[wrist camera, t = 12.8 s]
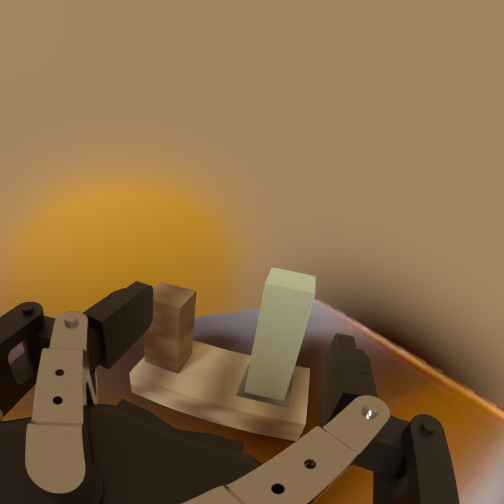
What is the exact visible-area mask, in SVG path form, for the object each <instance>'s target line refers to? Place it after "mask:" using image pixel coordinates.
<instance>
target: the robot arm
mask: <svg viewBox="0 0 504 504" xmlns="http://www.w3.org/2000/svg"><path fill="white" fill-rule="evenodd" d="M152 320H153V287H152V286H150V285H147V284H144V283H141V282H137V281H136V282H134V283H133V284H131V285H130V286H128V287H127V288H126V289H125V288H123V289H120V290H117V291H114V292H113V293H111V294H110V295H108V296H107V298H106V297H105V298H104V299H102V300H101V301H99V302H98V303H96V304H95V305H94V306H92V307H91V308H89V309H88V310H86V311H85V312H84V313H80V312H76V311H69V312H65V313H62V314H60V315H59V316H58V317H57V318H51V317H47V316H44V314H43V309H42V306H41V305H40V304H38V303H36V302H25V303H22V304H20V305H18V306H17V307H15V308H14V309H12V310H10V311H9V312H7V313H6V314H4V315H3V316H1V317H0V504H313V503H314V502H315V501H316V500H317V499H318V498H319V497H321V496H322V495H323V494H324V493H325V492H326V491H327V490H328V489H329V488H330V487H331V486H332V485H333V484H334V483H335V482H336V481H337V480H338V479H339V478H340V477H341V476H342V475H343V474H344V473H345V472H346V471H347V470H348V469H349V468H350V467H351V466H352V465H356V466H359V467H362V468H365V469H368V470H371V471H373V504H459V497H458V491H457V486H456V480H455V475H454V470H453V466H452V461H451V457H450V453H449V449H448V445H447V441H446V437H445V433H444V430H443V427H442V425H441V423H440V422H439V421H438V420H437V419H435V418H434V417H432V416H430V415H426V414H420V415H417V416H415V417H414V418H413V419H412V420H411V421H410V422H407V421H404V420H401V419H398V418H395V417H393V416H391V415H390V410H389V408H388V406H387V405H386V404H385V403H384V402H383V401H382V400H380V399H378V397H377V392H376V387H375V383H374V378H373V375H372V374H373V373H372V369H371V365H370V360H369V358H368V356H367V355H366V354H365V352H364V351H363V350H359V349H356V345H355V340H354V337H353V336H348V335H343V334H338V333H336V334H335V336H334V338H333V341H332V344H331V346H330V349H329V352H328V354H327V357H326V359H325V362H324V365H323V368H322V373H321V413H320V426H316V427H315V428H313V429H312V430H311V431H309V432H308V433H307V434H306V435H304V436H303V437H302V438H300V439H299V440H298V441H296V442H295V443H293V444H292V445H291V446H289V447H288V448H286V449H285V450H284V451H282V452H281V453H279V454H278V455H276V456H275V457H273V458H272V459H270V460H269V461H267V462H266V463H264V464H263V465H262V464H261V463H260V462H259V461H257V460H256V459H255V458H253V457H251V456H250V455H248V454H246V453H244V452H242V448H243V445H244V443H243V442H239V441H235V440H231V439H228V438H224V437H221V436H217V435H214V434H209V433H200V432H192V431H185V430H179V429H175V428H173V427H172V426H170V425H169V424H167V423H166V422H164V421H163V420H161V419H160V418H158V417H157V416H155V415H154V414H152V413H151V412H150V411H148V410H145V409H143V408H141V407H138V406H136V405H134V404H132V403H130V402H128V401H125V400H123V399H122V400H121V401H120V402H119V404H118V405H117V406H114V405H107V404H99V401H98V387H97V371H96V367H97V366H98V365H101V366H103V367H105V368H107V369H110V368H111V367H112V366H113V365H114V364H115V363H116V362H117V361H118V360H119V359H120V358H121V356H122V355H123V354H124V353H125V352H126V351H127V350H128V349H129V348H130V347H131V346H132V345H133V344H134V343H135V342H136V341H137V340H138V339H139V338H140V337H141V336H142V335H143V334H144V333H145V332H146V331H147V330H148V329H149V327H150V325H151V323H152ZM20 342H22V344H23V347H24V350H25V352H24V353H23V354H21V355H20V356H19V357H18V358H17V359H16V360H14V361H13V362H12V363H11V364H10V365H9V362H8V354H9V352H10V351H11V350H12V349H13V348H14V347H15V346H17V345H18V344H19V343H20ZM35 384H36V389H35V396H34V405H33V415H32V417H29V418H23V419H17V420H10V421H3V422H2V420H3V417H4V416H5V415H6V414H7V413H8V412H9V411H10V410H11V409H12V408H13V407H14V406H15V404H16V403H17V402H18V401H19V400H20V399H21V398H22V397H23V396H24V395H25V394H26V393H27V392H28V391H29V390H30V389H31V388H32V387H33V386H34V385H35Z"/></svg>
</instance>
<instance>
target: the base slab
mask: <svg viewBox="0 0 504 504" xmlns="http://www.w3.org/2000/svg"><path fill="white" fill-rule="evenodd" d="M195 301H196V291H193V290H189V289H185V288H181V287H178V286H174V285H170V284H166V283H163V282H161V283H160V284H159V285H157V286H156V287H154V288H153V320H152V323H151V325H150V327H149V329H148V330H147V331H146V332H145V333H144V334H143V341H144V357H143V358H142V360H141V361H140V362H139V363H138V364H137V365H136V366H135V367H134V368H133V369H132V371H131V372H130V373H129V374H130V382H131V388H132V393H135V394H137V395H139V396H141V397H144V398H146V399H149V400H151V401H154V402H156V403H159V404H161V405H164V406H166V407H169V408H172V409H175V410H177V411H180V412H183V413H186V414H189V415H192V416H195V417H198V418H201V419H204V420H207V421H211V422H214V423H218V424H221V425H225V426H228V427H232V428H236V429H240V430H244V431H248V432H252V433H256V434H261V435H265V436H270V437H275V438H280V439H286V440H291V441H298V440H299V438H300V436H301V433H302V431H303V429H304V427H305V425H306V416H307V405H308V392H309V378H310V368H305V367H299V366H295V367H294V371H293V374H292V377H291V380H290V383H289V386H288V389H287V393H286V396H285V399H284V401H281V400H276V399H272V398H267V397H263V396H259V395H254V394H250V393H246V392H244V390H245V385H246V380H247V375H248V370H249V365H250V360H251V356H249V355H245V354H241V353H237V352H233V351H229V350H226V349H222V348H218V347H215V346H211V345H207V344H204V343H200V342H197V341H194V340H193V329H194V315H195V314H194V313H195Z"/></svg>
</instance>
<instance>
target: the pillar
mask: <svg viewBox="0 0 504 504" xmlns="http://www.w3.org/2000/svg"><path fill="white" fill-rule="evenodd" d="M314 296H315V276H311V275H306V274H301V273H296V272H291V271H287V270H282V269H278V268H272V270H271V272H270V274H269V276H268V278H267V280H266V282H265V287H264V292H263V298H262V303H261V308H260V314H259V319H258V324H257V329H256V335H255V340H254V345H253V350H252V355H251V360H250V365H249V370H248V375H247V380H246V385H245V390H244V392H246V393H250V394H254V395H259V396H263V397H267V398H272V399H276V400H281V401H284V399H285V396H286V393H287V389H288V386H289V383H290V380H291V377H292V374H293V371H294V367H295V364H296V361H297V358H298V354H299V351H300V347H301V344H302V341H303V337H304V334H305V330H306V326H307V323H308V319H309V315H310V312H311V308H312V304H313V300H314Z"/></svg>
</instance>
